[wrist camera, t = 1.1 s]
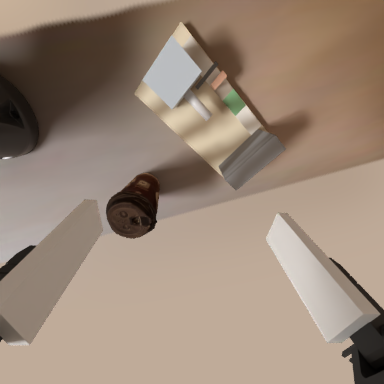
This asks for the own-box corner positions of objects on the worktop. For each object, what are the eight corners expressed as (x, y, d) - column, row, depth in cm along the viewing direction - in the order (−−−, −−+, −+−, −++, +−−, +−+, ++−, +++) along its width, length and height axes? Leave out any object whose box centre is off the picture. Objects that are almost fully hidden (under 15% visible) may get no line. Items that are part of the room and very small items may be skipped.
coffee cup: (173, 184, 36) (166, 220, 25) (153, 207, 39) (139, 249, 28) (139, 160, 34) (115, 189, 22) (121, 188, 37) (91, 225, 25)
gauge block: (151, 85, 26) (142, 80, 21) (188, 30, 23) (189, 8, 18) (195, 129, 29) (197, 134, 24) (233, 87, 26) (244, 82, 21)
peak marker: (209, 85, 26) (211, 84, 25) (220, 72, 25) (222, 70, 24) (213, 90, 27) (215, 89, 25) (224, 77, 26) (227, 75, 24)
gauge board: (136, 93, 28) (117, 90, 21) (181, 25, 24) (178, -10, 17) (223, 176, 36) (231, 194, 29) (268, 135, 32) (291, 144, 25)
